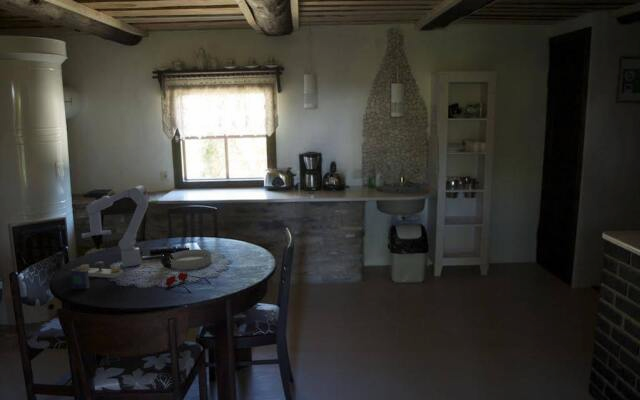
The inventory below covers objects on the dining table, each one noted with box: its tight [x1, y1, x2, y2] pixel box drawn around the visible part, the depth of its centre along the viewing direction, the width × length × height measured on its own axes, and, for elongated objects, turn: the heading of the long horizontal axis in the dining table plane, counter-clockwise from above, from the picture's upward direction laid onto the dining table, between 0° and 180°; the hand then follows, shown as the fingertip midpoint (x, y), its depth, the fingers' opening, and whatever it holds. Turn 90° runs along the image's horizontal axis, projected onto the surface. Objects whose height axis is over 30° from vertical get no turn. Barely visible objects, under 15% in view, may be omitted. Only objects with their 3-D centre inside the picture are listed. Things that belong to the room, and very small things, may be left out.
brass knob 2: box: [110, 265, 121, 273], centre depth 256 cm, size 4×4×4 cm
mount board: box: [88, 267, 124, 279], centre depth 259 cm, size 22×7×2 cm, turn 76°
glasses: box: [164, 271, 212, 294], centre depth 239 cm, size 14×16×5 cm
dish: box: [169, 248, 212, 270], centre depth 275 cm, size 22×22×5 cm
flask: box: [70, 265, 90, 291], centre depth 238 cm, size 9×3×11 cm, turn 74°
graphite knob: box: [94, 260, 105, 270], centre depth 258 cm, size 4×4×4 cm
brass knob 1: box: [80, 263, 90, 270], centre depth 261 cm, size 4×4×4 cm
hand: (98, 248), depth 274 cm, fingers closed
